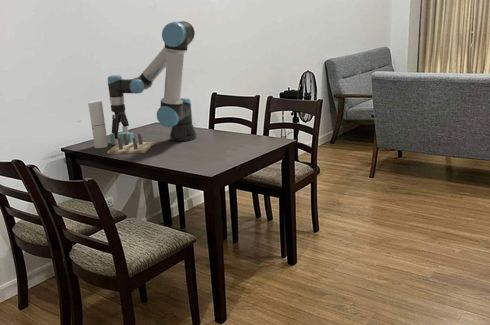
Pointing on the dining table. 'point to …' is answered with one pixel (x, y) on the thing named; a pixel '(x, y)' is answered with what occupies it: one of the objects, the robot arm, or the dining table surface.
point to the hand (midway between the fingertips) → (122, 141)
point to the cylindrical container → (98, 124)
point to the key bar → (121, 135)
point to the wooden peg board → (130, 146)
